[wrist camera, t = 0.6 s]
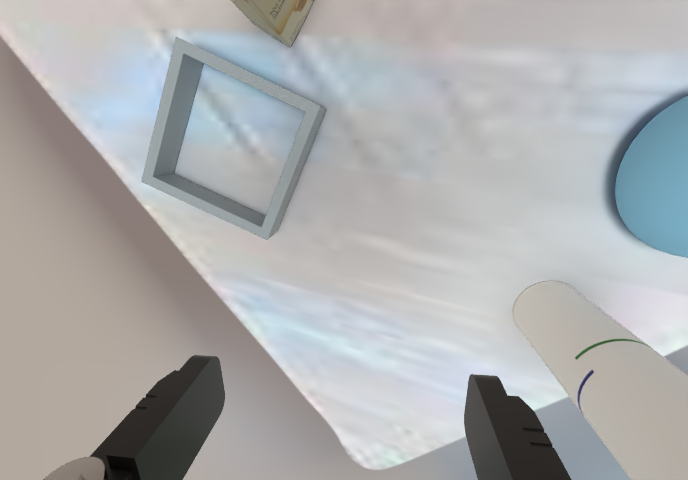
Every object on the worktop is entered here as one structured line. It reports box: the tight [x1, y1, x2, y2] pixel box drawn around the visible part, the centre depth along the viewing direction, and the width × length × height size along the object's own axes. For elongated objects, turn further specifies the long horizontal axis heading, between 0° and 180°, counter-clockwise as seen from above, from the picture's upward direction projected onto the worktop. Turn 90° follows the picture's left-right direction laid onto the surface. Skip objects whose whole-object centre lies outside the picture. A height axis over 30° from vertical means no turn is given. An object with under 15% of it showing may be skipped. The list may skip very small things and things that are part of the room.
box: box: [141, 37, 326, 240], centre depth 33 cm, size 14×14×4 cm
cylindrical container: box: [513, 281, 688, 480], centre depth 24 cm, size 7×7×25 cm
